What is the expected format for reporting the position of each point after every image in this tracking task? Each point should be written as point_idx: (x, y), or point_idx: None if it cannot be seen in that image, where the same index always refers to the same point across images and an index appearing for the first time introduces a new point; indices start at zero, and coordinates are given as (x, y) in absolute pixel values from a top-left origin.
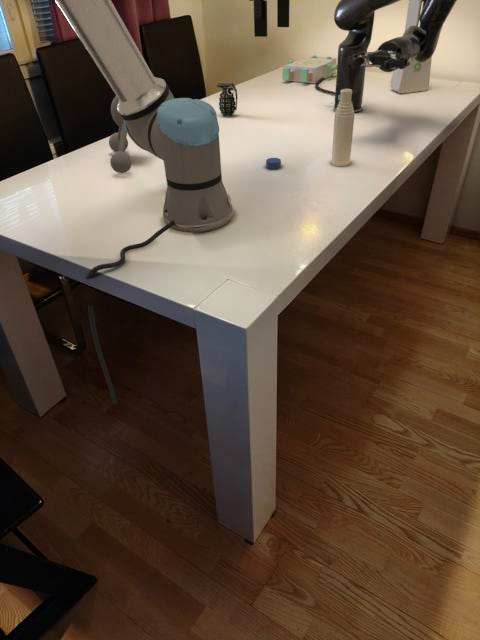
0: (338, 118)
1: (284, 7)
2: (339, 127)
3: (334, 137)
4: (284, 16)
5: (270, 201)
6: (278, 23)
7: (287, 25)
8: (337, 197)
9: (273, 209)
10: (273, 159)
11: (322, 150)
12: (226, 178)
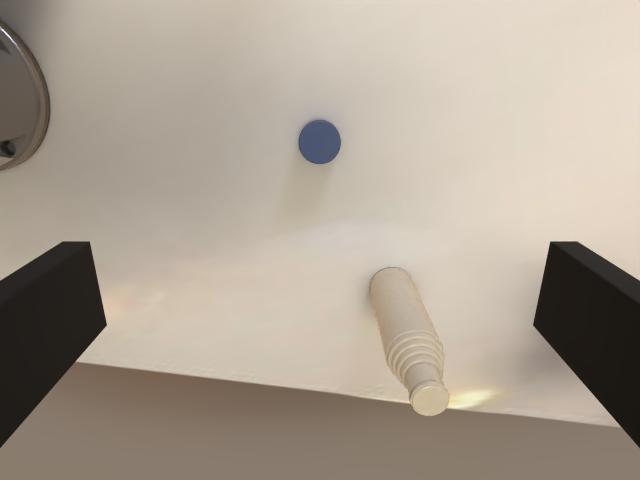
0: (387, 342)
1: (631, 389)
2: (381, 333)
3: (385, 305)
4: (582, 340)
5: (125, 212)
6: (563, 261)
7: (539, 327)
8: (204, 326)
9: (93, 232)
10: (325, 140)
11: (471, 223)
12: (198, 44)
